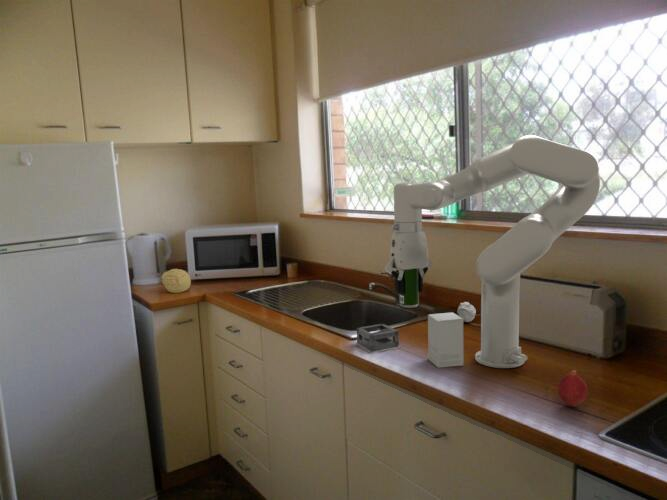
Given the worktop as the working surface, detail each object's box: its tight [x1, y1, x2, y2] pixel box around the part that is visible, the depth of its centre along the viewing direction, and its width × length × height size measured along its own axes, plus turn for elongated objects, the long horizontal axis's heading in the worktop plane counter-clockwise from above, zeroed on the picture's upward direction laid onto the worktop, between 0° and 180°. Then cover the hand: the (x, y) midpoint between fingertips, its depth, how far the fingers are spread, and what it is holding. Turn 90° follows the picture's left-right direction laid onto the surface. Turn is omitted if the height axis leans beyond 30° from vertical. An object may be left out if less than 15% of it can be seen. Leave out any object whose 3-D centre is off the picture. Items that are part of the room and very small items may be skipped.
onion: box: [557, 370, 589, 408], centre depth 112 cm, size 6×6×8 cm
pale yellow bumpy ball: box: [161, 268, 192, 294], centre depth 244 cm, size 12×12×11 cm
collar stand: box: [355, 323, 401, 354], centre depth 157 cm, size 10×10×5 cm
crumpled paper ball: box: [456, 301, 477, 323], centre depth 178 cm, size 6×7×7 cm
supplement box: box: [427, 311, 465, 369], centre depth 141 cm, size 7×7×13 cm
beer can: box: [399, 269, 420, 309], centre depth 149 cm, size 5×5×12 cm
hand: (409, 291), depth 149 cm, fingers closed on beer can, 5 cm apart
